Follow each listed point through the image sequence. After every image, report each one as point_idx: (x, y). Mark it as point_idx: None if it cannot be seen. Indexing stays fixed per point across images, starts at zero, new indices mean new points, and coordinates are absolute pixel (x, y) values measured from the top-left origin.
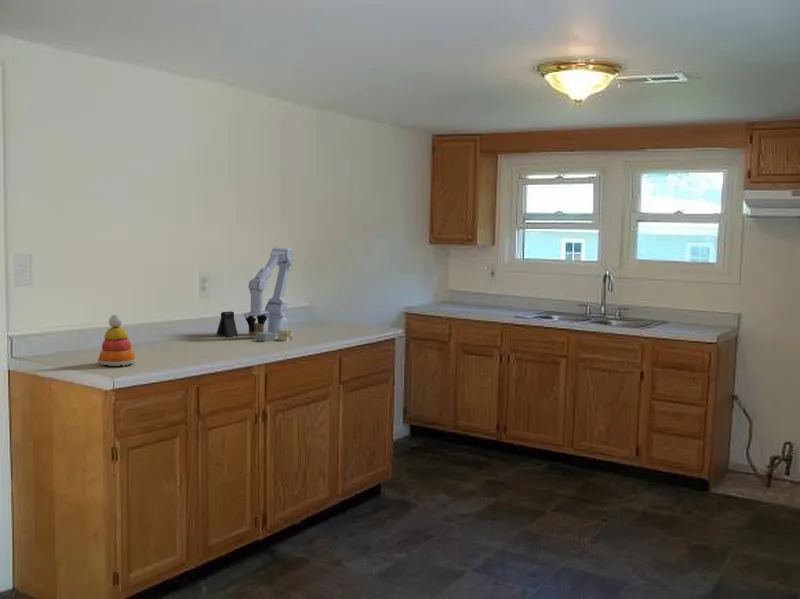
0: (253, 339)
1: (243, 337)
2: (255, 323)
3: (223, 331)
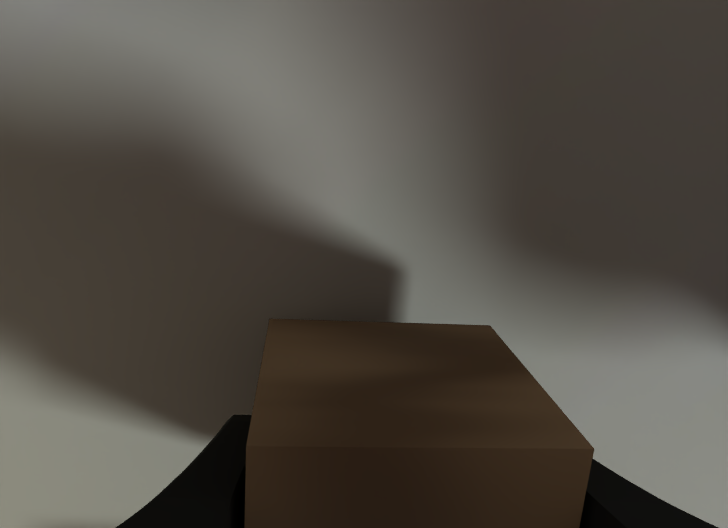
0: None
1: (247, 176)
2: (494, 495)
3: None
